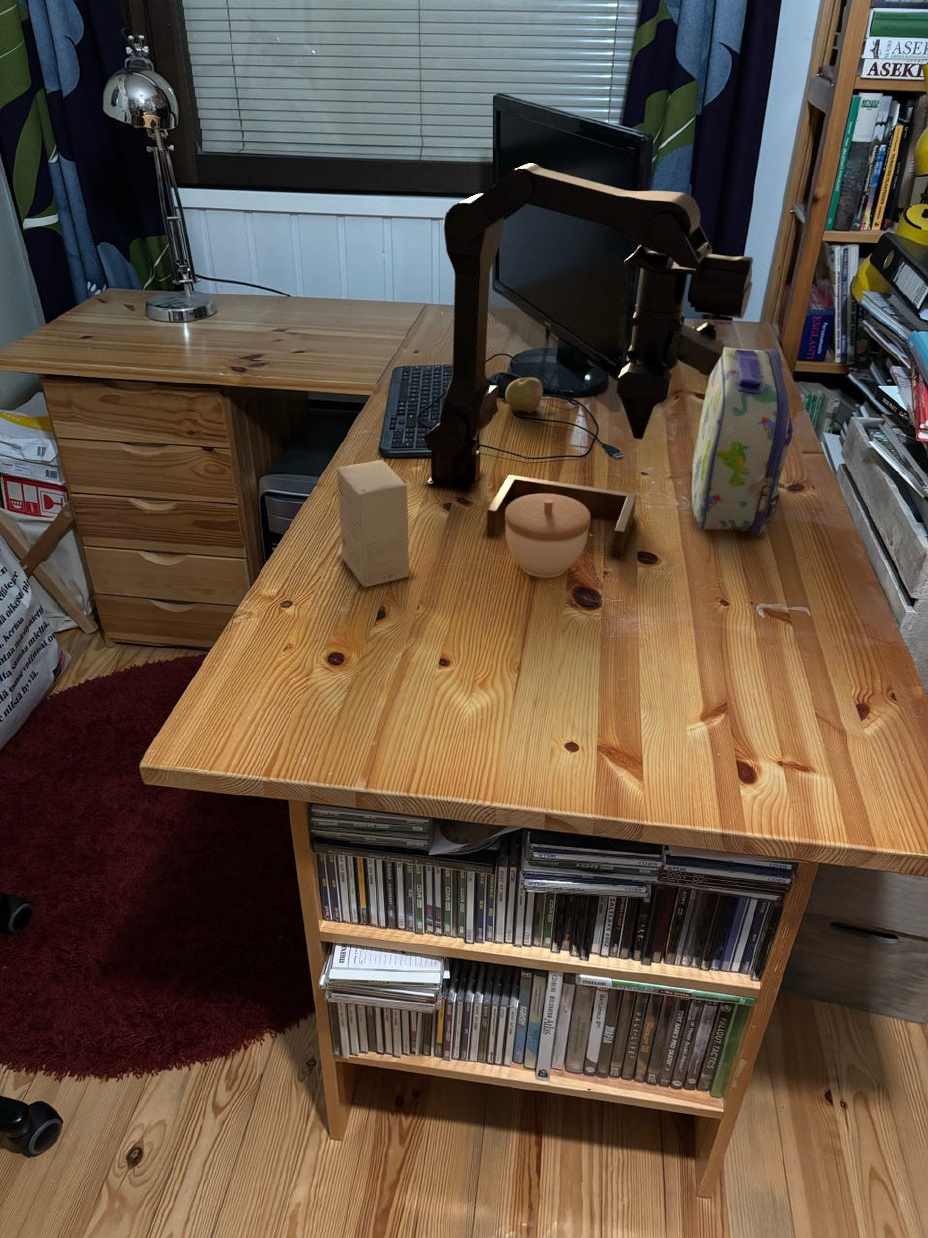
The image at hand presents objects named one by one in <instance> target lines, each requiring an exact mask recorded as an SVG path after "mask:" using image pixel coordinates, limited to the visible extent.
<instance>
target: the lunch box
mask: <svg viewBox="0 0 928 1238" xmlns="http://www.w3.org/2000/svg"><path fill="white" fill-rule="evenodd" d="M784 378H785V377H784V373H783V364H782V357H781V353H780V351H778V350H776V349H775V348H772V349H771V348H769V349H766V350H763V349H744V348H734V347H727V346H724V349H723V354H722V356H721V357H720V359H719V361H718V362H717V364H716V366H715V368H714V369H713V371H712V373H711V374H710V376H709V379H708V383H707V386H706V391H705V395H704V400H703V406H702V409H701V415H700V420H699V424H698V430H697V436H696V442H695V446H694V454H693V460H692V473H691V478H692V479H691V508H692V512H693V516H694V518H695V521H696V523H697V526H698V528H700V529H703V530H731V531H733V530H737V531H739V532H747V533H748V534H749V535H751V536H754V537H760V536H761V534H762V532H763V530H764V529H765V527H766V525H767V524H771V523H772V522H773V521H774V517H775V514H776V510H777V507H778V503H779V499H780V494H776V493H777V490H778V486H779V483H780V479H781V476H782V472H783V469H784V466H785V461H786V458H787V455H788V450H789V447H790V444H791V442H792V439H793V438H792V436H793V431H794V429H793V424H792V417H791V413H790V399H789V396H788V391H787V387H786V384H785V379H784Z"/></svg>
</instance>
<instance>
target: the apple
mask: <svg viewBox="0 0 928 1238" xmlns="http://www.w3.org/2000/svg"><path fill="white" fill-rule="evenodd" d="M504 394H505V401H506V404H508V406H509V407H510V408H511V410H513V411H515V412H525V413H527V414H528V413H530V414H531V413H533V412H534V411H535V410H537V409H538V408H539V406H540V403H541V400H542V397H543V394H544V387H543V384H542V381H541V380H540V379H538V378H537V377H519V378H517V379H515V380H513V381H511V382H510V383H509V384H508V386H507V388H506V390H505V393H504Z"/></svg>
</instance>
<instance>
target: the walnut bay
mask: <svg viewBox="0 0 928 1238" xmlns="http://www.w3.org/2000/svg"><path fill="white" fill-rule="evenodd" d="M531 494H556V495H562V496H566V497H569V498H572V499H574V500H577V501H578V502H580V503H582V504H583V505H584V506H585V507H586V508H587V509H588V510H589V512H590V515H591V517H593V518H599V519H606V520H610V521H611V520H612V521H617V523H616V526H615V529H614V534H613V541H612V549H611V557H612V558H618V559H621V557H622V556H623V551H624V549H625V546H626V543H627V540H628V536H629V534H630V530H631V528H632V525H633V522H634V517H635V510H636V503H637V493H633V492H632V493H631V492H626V491H620V490H612V489H605V488H600V487H593V486H585V485H578V484H574V483H566V482H559V481H553V480H547V479H540V478H533V477H527V476H519V475H514V474H508V476H507V477H506V479H505V480H504V482H503V484H502V486H501V487H500V488H499V490H498V492H497V493H496V495H495V497H494V499H493V500H492V502H491V504H490V505H489V506H488V509H487V513H486V536H487V537H493V538H495V537H496V536H497V534H498V532H499V530H500V529H501V527H502V525H503V524H504V521H505V511H506V508H507V506H508V505H509V504H510V503H511V502H512V501H514V500H515V499H517V498H520V497H523V496H526V495H531Z"/></svg>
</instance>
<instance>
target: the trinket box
mask: <svg viewBox="0 0 928 1238" xmlns="http://www.w3.org/2000/svg"><path fill="white" fill-rule="evenodd" d="M591 517H592V516H591V515H590V512H589V510H588V509H587V508H586V507H585V506H584V505H583V504H582V503H580V502H578V501H577V500H574V499H572V498H569V497H566V496H562V495H556V494H531V495H526V496H523V497H520V498H517V499H515V500H514V501H512V502H511V503H510V504H509V505H508V506H507V508H506V511H505V520H504V521H505V524H504V525H505V526H504V527H505V531H504V533H505V541H506V546H507V549H508V551H509V554H510V556H511V557H512V559H513V560H514V562H515V563H516V564H517V565H519V567H520V568H521V570H522V571H523V572H524V573H526V574H528V575H530V576H533V577H535V578H542V579H551V578H556V577H559V576H562V575H563V574H564V573H566V572H567V570H569V569H570V568H571V567H573V566H574V565H575V564H576V563H577V562H578V561H579V559H580V558H581V557H582V554H583V553H584V550H585V548H586V545H587V541H588V537H589V536H588V535H589V529H590V525H591Z"/></svg>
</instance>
